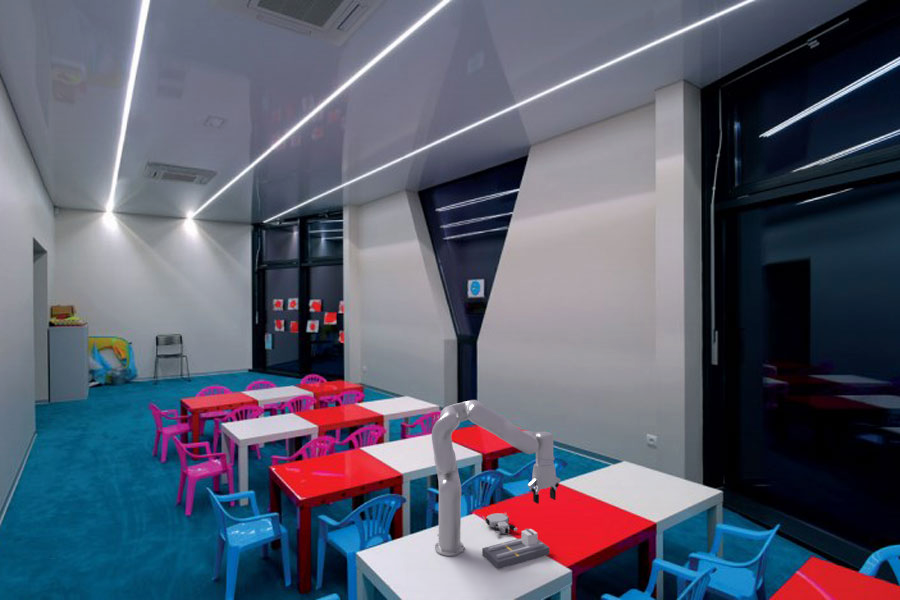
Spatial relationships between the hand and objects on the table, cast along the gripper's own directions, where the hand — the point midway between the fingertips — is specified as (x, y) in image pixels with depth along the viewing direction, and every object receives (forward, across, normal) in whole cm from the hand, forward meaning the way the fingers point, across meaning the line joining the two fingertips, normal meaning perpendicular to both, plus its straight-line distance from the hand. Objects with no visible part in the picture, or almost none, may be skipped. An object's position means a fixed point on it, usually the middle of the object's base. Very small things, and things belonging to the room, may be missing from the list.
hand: (544, 500), depth 208 cm
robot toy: (+21, +8, -23) cm, 32 cm away
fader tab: (+17, +8, 0) cm, 19 cm away
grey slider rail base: (+20, +15, 0) cm, 25 cm away
